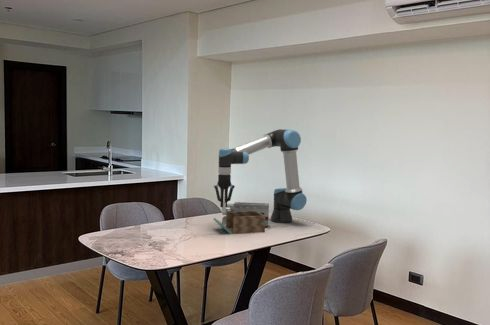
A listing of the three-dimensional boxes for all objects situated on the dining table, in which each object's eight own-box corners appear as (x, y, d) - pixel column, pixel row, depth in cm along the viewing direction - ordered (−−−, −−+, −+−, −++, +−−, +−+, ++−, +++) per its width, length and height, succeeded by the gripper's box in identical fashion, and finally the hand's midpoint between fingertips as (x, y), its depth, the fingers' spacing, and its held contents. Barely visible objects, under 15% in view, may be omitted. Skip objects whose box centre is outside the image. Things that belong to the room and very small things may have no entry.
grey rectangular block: (223, 223, 299) (223, 201, 298) (268, 225, 296) (268, 203, 295) (221, 226, 291) (222, 203, 290) (267, 228, 288) (268, 205, 287)
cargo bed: (255, 228, 286) (255, 210, 286) (264, 234, 271) (265, 215, 270) (225, 230, 280) (226, 212, 279) (233, 236, 265) (234, 217, 264)
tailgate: (225, 227, 280) (214, 217, 277) (233, 233, 265) (221, 223, 262) (224, 229, 279) (213, 219, 276) (231, 235, 264) (220, 224, 261)
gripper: (232, 173, 274) (231, 211, 275) (212, 173, 269) (211, 211, 271) (236, 174, 267) (235, 213, 268) (215, 174, 262) (214, 214, 264)
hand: (223, 212), depth 270 cm, fingers closed
